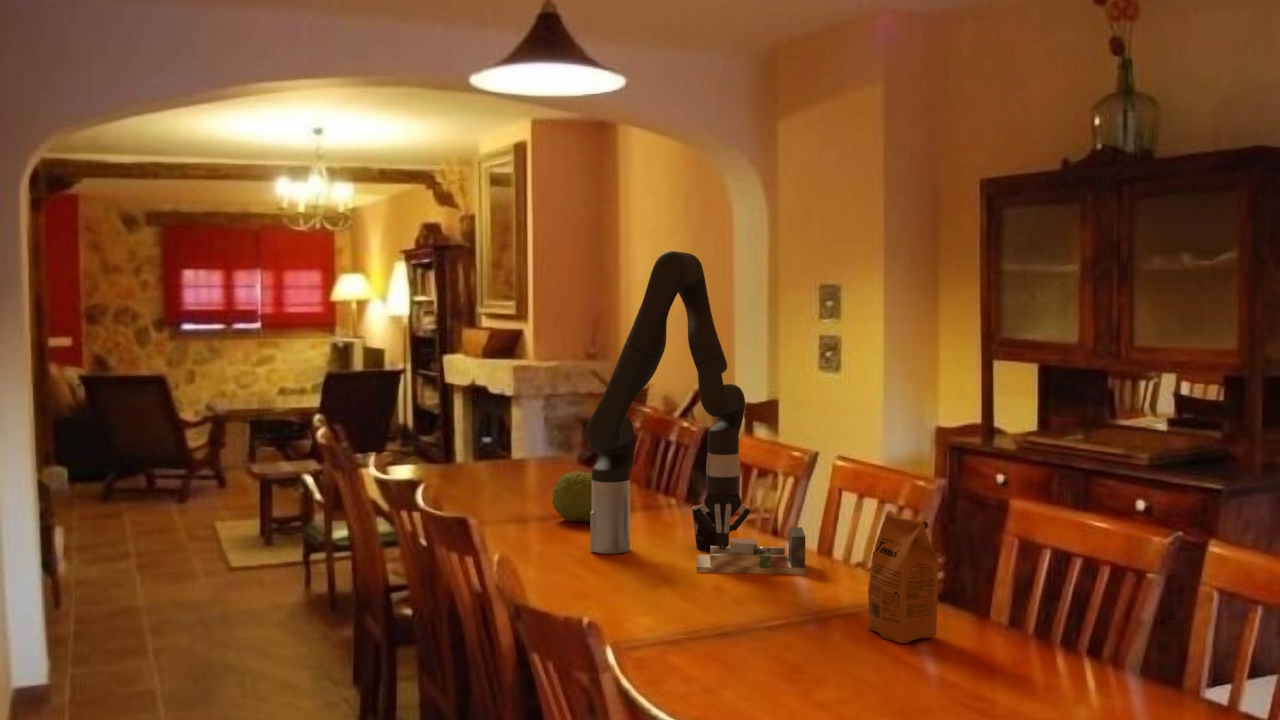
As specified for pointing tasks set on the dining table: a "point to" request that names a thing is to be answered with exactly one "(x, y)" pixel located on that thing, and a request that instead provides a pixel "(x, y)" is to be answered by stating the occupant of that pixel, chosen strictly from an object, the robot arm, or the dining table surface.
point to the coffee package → (903, 581)
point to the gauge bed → (758, 559)
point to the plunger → (747, 547)
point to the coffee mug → (705, 531)
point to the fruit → (573, 496)
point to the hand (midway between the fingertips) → (722, 548)
